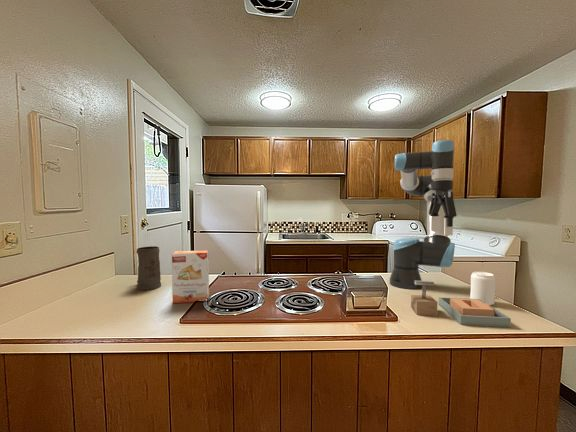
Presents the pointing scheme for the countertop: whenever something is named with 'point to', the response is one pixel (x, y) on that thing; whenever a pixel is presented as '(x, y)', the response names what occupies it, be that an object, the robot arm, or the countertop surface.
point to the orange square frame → (472, 307)
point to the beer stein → (148, 268)
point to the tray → (497, 320)
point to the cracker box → (190, 276)
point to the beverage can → (483, 287)
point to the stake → (423, 301)
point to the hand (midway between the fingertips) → (440, 233)
